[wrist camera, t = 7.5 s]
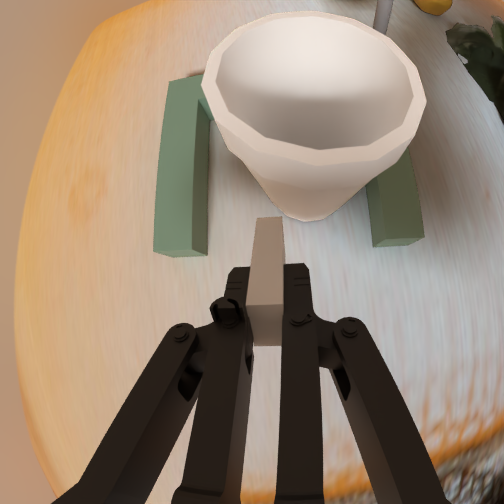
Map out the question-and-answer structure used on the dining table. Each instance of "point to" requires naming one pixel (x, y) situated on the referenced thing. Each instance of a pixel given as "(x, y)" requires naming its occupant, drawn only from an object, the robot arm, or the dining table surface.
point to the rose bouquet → (482, 56)
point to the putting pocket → (196, 176)
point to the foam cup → (313, 106)
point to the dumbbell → (434, 6)
